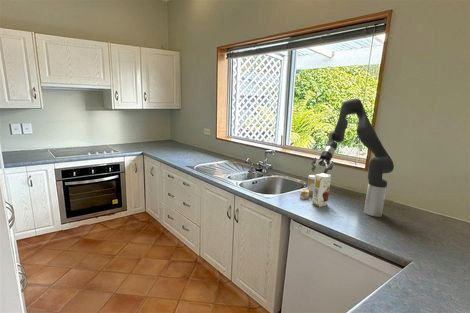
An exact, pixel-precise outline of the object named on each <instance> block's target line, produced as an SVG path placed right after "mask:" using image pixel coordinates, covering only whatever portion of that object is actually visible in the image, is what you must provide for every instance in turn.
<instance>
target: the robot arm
mask: <svg viewBox="0 0 470 313" xmlns="http://www.w3.org/2000/svg"><path fill="white" fill-rule="evenodd" d="M348 115H356V116H357V119H358V123H357V126H356V134H357V136H358V138H359V141H360V142H361V144H362V145H363V146H364V147H366V148H367V149H368V150H369V151H371V153H372V154H373V155H374V157H373V158H371V160H370V161H369V163H368V172H367V180H368V183H367V189H366V196H365V201H364V208H363V213H364V214H365V215H367V216H372V217H377V218H378V217H379V218H381V217H383V211H384V207H385V206H384V205H385V198H386V192H387V186H388V181H387V180H385V179H383V174H390V173H392V172H394V168H395V164H394V161H393V160H392V158H391V156H390V155H389V153H388V152H387V151H386V149H385V147H384V146H383V143H382V142H381V140H380V138H379V137H378V135H377V133H376V130H375V128H374V127H373V125H372V123H371V121H370V119H369V117H368V114H367V113H366V109H365V108H364V104H363V102H362V101H361V100H360V99H359V98H352V99H347V100H346V99H345V100H344V101H343V102H342V104H341V105H340V111H339V116H338V120H337V123H336V125H335V127H334V130H331V131H330V132H329V134H328V140H327V143H326V145H325V147H324V148H323V150H322V152H321V154H320V156H319V158H316V157H314V159H313V160H312V162H311V163H310V164H311V165H312V167H311V171H312V172H315V170H316V168H317V167H320V166H321V167H325V169H324V171H323V173H324V174H327V173H328V171H332V169H333V167H334V164H335V162H334V161H332V158H333V156H334V155H335V152H336V149H337V148H338V143H339V144H341V143H342V142H343V141H344V140H345V132H346V130H347V128H348V125H349V122H348V120H347V116H348ZM328 165H329V166H328Z"/></svg>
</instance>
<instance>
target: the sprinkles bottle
mask: <svg viewBox="0 0 470 313" xmlns="http://www.w3.org/2000/svg"><path fill="white" fill-rule="evenodd" d="M307 182H308V183H307V188H306V190H309V196H311V197H313V191H314V182H315V174H309V175H308V180H307Z"/></svg>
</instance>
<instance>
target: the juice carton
mask: <svg viewBox="0 0 470 313" xmlns="http://www.w3.org/2000/svg"><path fill="white" fill-rule="evenodd" d="M314 176H315V182H314V191H313V196H312V201H311V204H312V205H315V206H317V207H318V208H321V207H322V208H323V207H325V206H328V202H329V196H330V188H331V181H332V180H331V179H332V175H331V174H327V173H326V174H324V172H322V173H316V174H314Z"/></svg>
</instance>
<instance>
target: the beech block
mask: <svg viewBox="0 0 470 313" xmlns="http://www.w3.org/2000/svg"><path fill="white" fill-rule="evenodd" d="M299 194H300V196H299V198H300V200H309V190H307V188H306V189H305V188H300V192H299Z"/></svg>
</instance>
